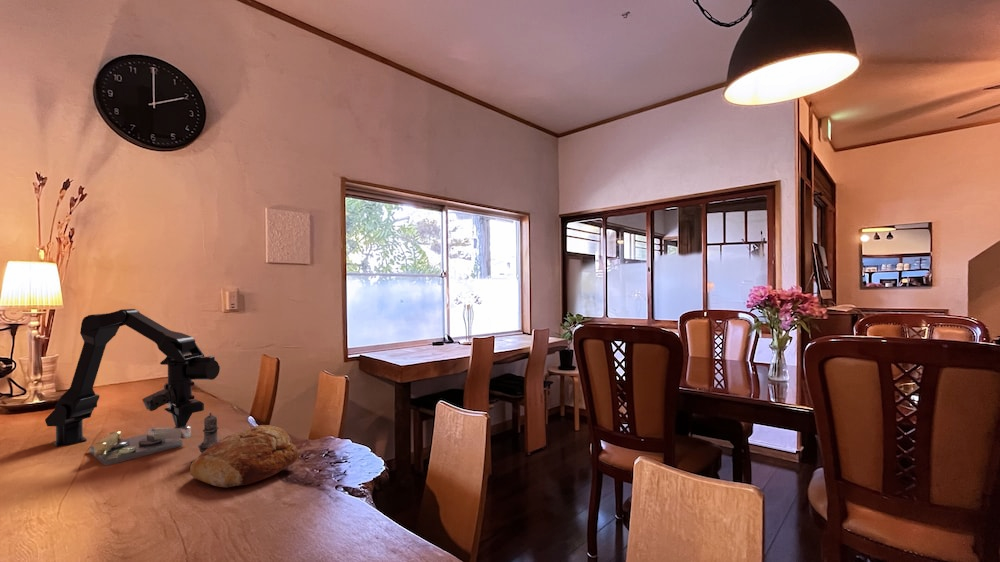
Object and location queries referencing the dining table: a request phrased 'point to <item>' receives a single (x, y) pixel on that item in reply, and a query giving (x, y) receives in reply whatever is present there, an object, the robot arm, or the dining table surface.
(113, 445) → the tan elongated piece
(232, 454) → the bread
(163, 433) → the silver lever handle
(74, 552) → the dining table surface
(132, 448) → the plate
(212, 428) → the salt shaker
